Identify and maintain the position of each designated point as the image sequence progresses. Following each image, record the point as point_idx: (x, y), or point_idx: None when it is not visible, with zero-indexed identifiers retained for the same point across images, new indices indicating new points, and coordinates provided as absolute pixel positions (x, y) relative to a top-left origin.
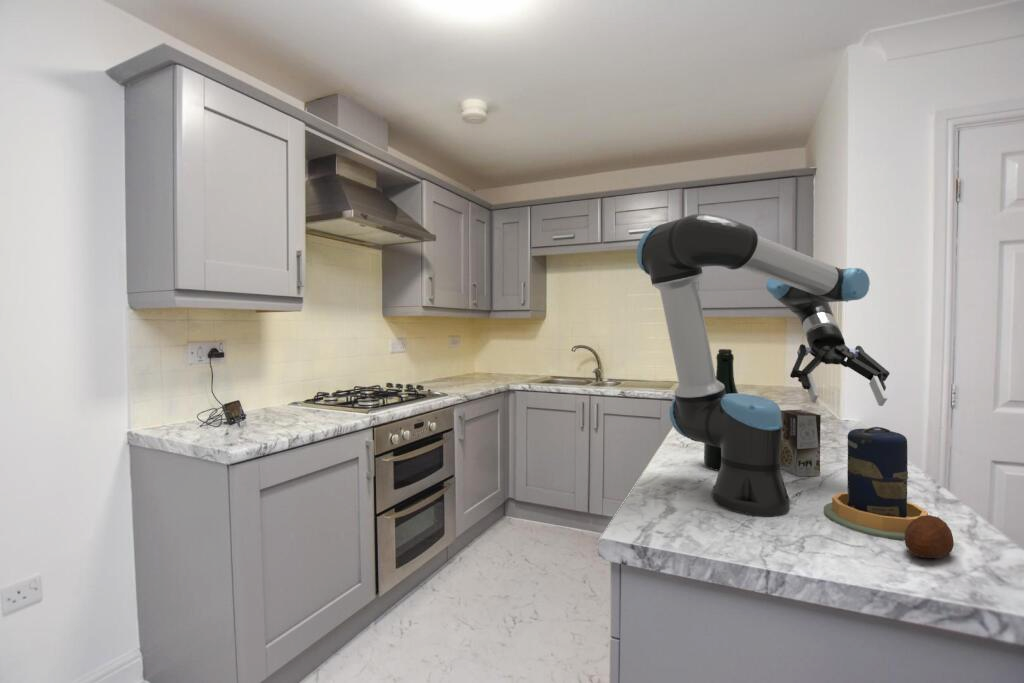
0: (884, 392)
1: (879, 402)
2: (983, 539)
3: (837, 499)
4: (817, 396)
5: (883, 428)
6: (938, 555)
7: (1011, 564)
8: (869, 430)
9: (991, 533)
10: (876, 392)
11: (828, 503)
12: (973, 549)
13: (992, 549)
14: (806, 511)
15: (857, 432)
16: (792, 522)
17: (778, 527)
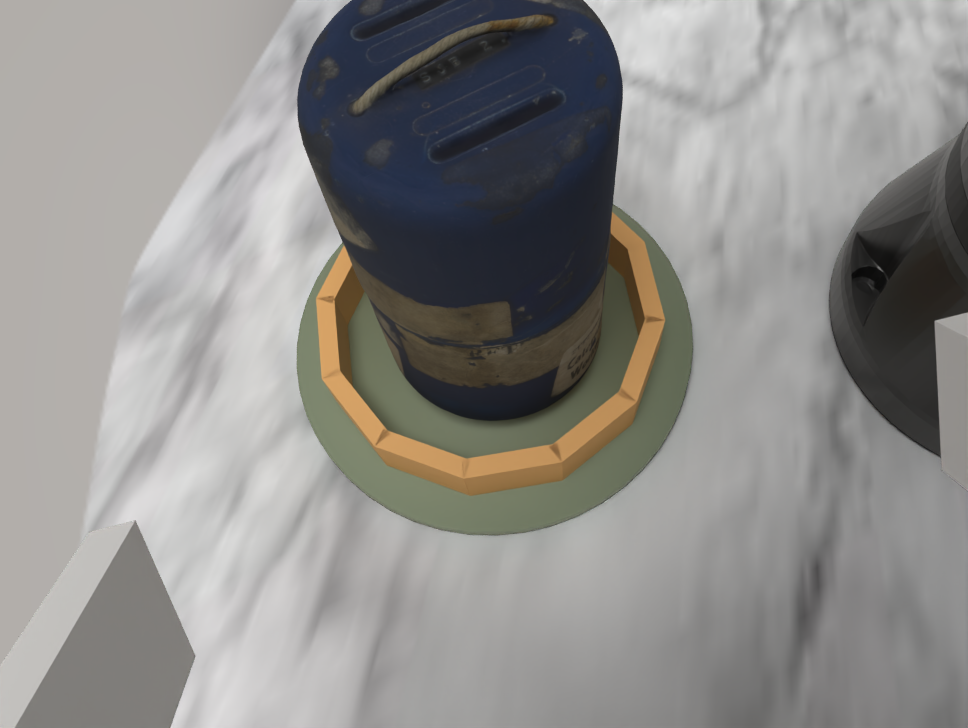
0: (51, 591)
1: (174, 637)
2: (182, 318)
3: (644, 302)
4: (945, 339)
5: (404, 62)
6: None
7: (214, 146)
8: (484, 107)
9: (117, 397)
10: (114, 724)
11: (669, 425)
12: (263, 211)
13: (204, 237)
14: (759, 331)
15: (575, 15)
16: (805, 182)
17: (848, 115)
